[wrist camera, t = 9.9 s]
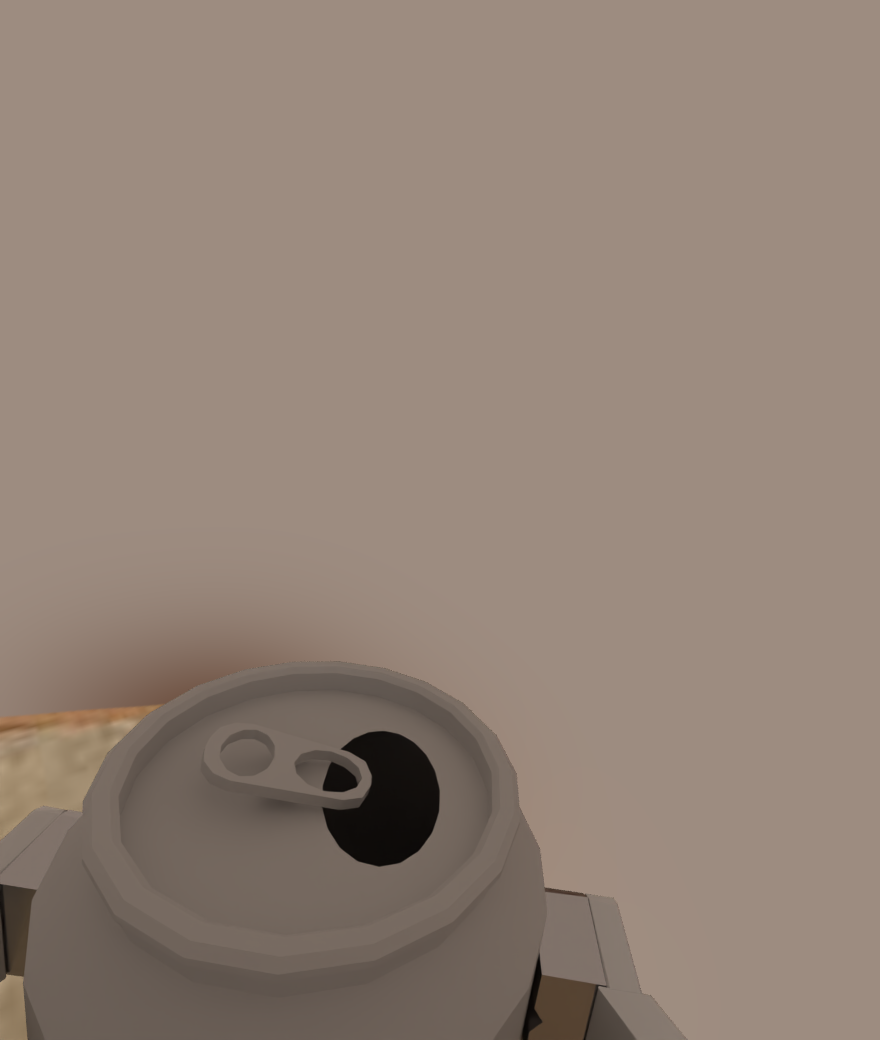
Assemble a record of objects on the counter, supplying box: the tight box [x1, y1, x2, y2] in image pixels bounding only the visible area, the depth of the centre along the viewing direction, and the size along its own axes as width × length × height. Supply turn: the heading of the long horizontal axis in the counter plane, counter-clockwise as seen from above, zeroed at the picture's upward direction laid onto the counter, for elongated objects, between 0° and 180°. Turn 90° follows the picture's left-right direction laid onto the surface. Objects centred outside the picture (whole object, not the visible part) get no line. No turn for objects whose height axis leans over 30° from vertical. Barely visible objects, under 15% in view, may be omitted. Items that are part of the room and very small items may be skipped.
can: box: [23, 661, 547, 1040], centre depth 10 cm, size 8×8×12 cm
